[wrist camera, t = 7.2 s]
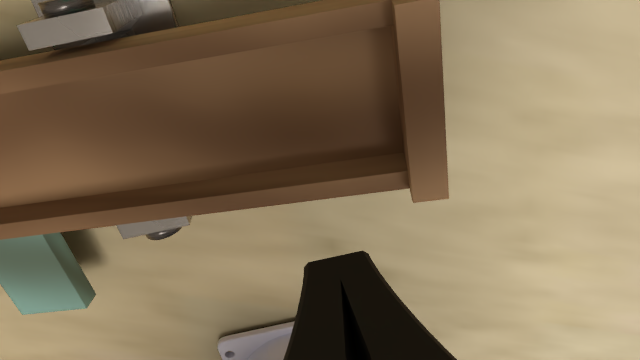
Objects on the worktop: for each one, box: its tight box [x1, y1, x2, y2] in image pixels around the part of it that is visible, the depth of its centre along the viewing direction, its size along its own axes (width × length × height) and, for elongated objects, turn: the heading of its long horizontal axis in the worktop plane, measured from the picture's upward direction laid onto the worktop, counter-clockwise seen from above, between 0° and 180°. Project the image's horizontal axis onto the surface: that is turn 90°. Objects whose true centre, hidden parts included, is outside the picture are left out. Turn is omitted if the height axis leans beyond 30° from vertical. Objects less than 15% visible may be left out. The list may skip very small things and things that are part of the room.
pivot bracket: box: [16, 0, 192, 240], centre depth 16 cm, size 9×4×4 cm, turn 10°
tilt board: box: [0, 0, 449, 315], centre depth 15 cm, size 10×20×3 cm, turn 100°
